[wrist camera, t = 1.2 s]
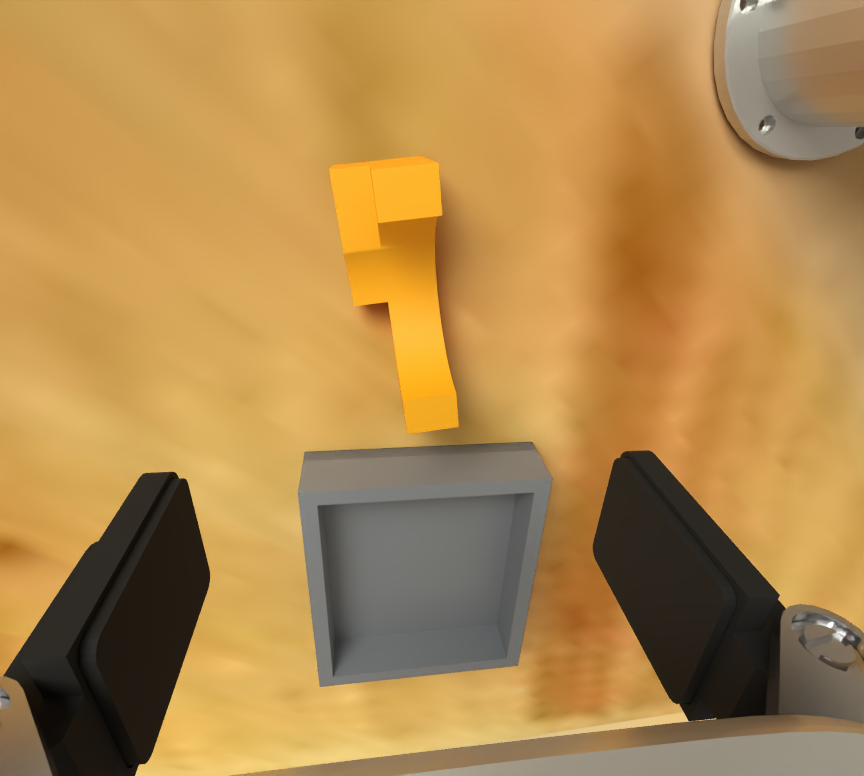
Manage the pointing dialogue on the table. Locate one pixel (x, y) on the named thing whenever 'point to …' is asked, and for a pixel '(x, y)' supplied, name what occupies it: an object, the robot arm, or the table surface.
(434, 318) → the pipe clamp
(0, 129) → the table surface
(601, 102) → the table surface
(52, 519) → the table surface
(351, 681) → the tray
